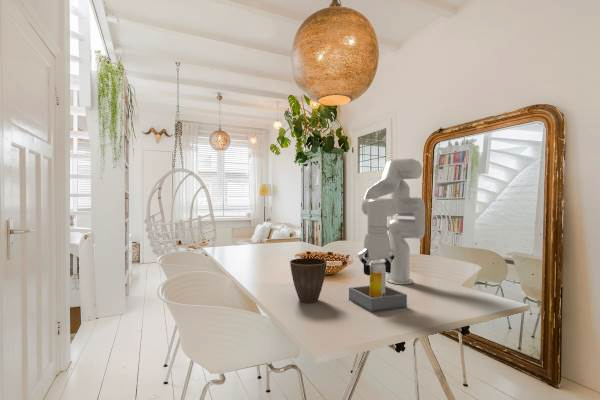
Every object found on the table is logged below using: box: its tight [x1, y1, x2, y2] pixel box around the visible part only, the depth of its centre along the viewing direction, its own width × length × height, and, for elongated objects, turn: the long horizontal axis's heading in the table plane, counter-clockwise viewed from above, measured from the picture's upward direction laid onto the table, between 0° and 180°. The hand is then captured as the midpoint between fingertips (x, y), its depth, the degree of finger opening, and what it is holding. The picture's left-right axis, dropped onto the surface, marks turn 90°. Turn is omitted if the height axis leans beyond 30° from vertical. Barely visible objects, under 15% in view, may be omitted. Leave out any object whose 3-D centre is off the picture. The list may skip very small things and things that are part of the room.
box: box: [348, 284, 408, 314], centre depth 126 cm, size 16×16×5 cm
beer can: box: [369, 261, 387, 298], centre depth 126 cm, size 6×6×15 cm
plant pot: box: [289, 257, 328, 304], centre depth 129 cm, size 15×15×16 cm
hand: (377, 273), depth 127 cm, fingers open, 9 cm apart
